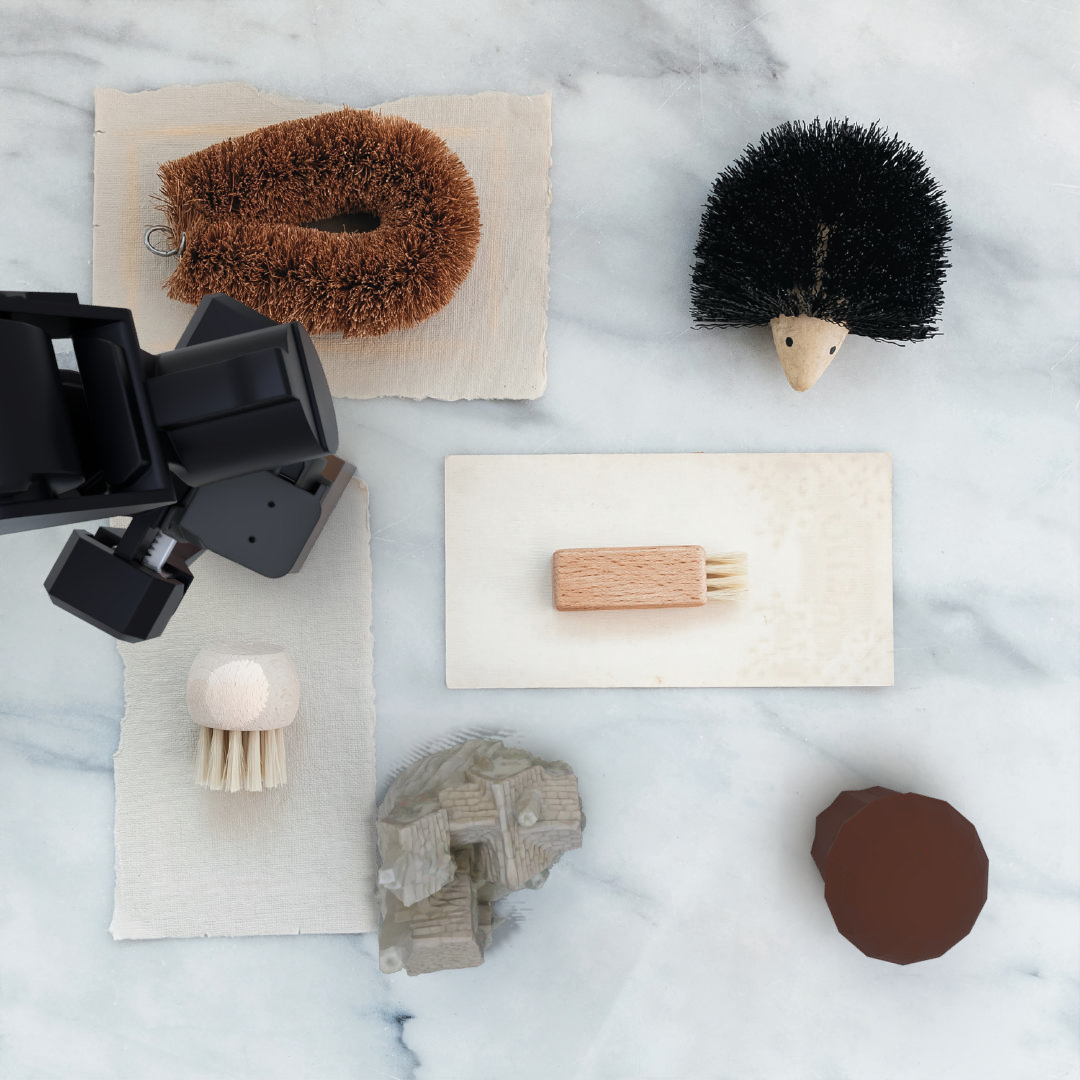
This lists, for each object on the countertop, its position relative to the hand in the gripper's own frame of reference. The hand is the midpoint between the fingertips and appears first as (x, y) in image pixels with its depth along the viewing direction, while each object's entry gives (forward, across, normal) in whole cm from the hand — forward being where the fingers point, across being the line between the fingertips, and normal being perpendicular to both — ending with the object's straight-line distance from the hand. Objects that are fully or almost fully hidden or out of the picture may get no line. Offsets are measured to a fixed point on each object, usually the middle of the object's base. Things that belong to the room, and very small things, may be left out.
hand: (235, 481), depth 54 cm
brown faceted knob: (+10, -2, -52) cm, 53 cm away
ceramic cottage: (+10, -16, -26) cm, 32 cm away
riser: (+10, 0, 0) cm, 10 cm away
